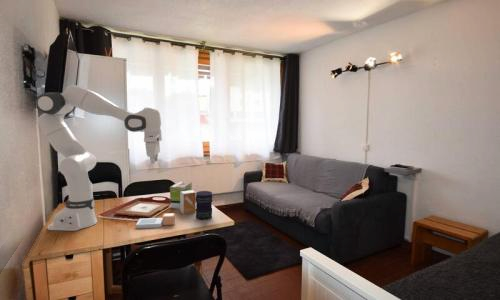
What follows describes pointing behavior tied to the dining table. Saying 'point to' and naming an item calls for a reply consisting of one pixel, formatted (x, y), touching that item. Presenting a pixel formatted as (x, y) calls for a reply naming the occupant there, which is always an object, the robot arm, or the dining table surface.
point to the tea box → (178, 192)
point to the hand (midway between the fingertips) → (154, 162)
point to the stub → (169, 219)
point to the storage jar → (203, 205)
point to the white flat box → (149, 222)
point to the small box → (187, 201)
